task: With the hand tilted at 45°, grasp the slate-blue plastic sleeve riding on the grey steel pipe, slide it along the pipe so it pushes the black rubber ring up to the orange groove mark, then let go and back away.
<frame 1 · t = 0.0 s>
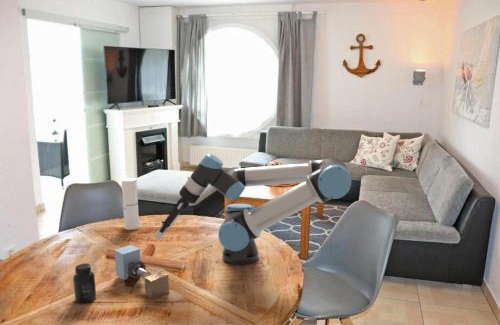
hand: (162, 231, 165), 15 cm above the table, tool tilted 35°, fingers open, 13 cm apart
sleeve: (127, 261, 159), point 6 cm above the table, slide at 0.0 cm
cylindrical container: (131, 227, 214), on the table
supplement bottle: (85, 299, 144), on the table
ring: (136, 269, 155), point 5 cm above the table, slide at 0.0 cm
pipe rig: (139, 283, 155), on the table
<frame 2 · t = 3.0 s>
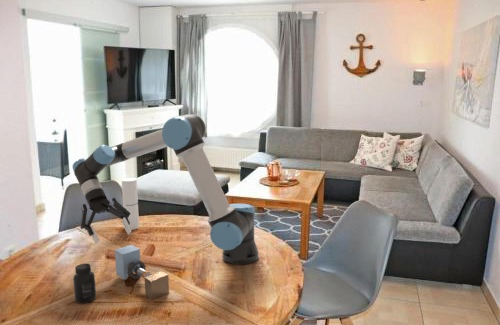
hand: (114, 237, 164), 13 cm above the table, tool tilted 45°, fingers open, 13 cm apart
nothing on the table moved.
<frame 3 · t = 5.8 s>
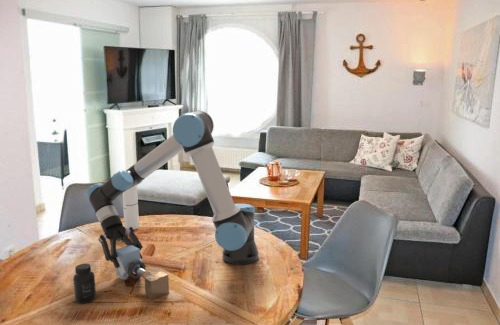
hand: (133, 270, 157), 3 cm above the table, tool tilted 45°, fingers closed on sleeve, 7 cm apart
sleeve: (127, 261, 159), point 6 cm above the table, slide at 0.0 cm, touching gripper
everything else where it was.
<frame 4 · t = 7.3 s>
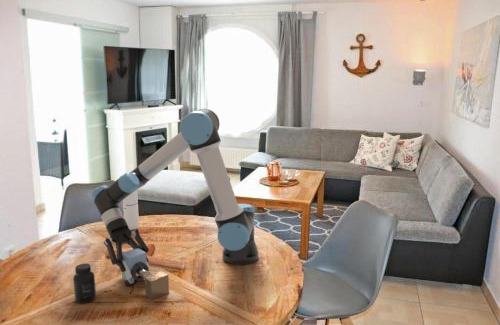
hand: (139, 274, 154), 3 cm above the table, tool tilted 45°, fingers closed on sleeve, 7 cm apart
sleeve: (134, 265, 156), point 6 cm above the table, slide at 4.5 cm, touching gripper
ring: (139, 271, 153), point 5 cm above the table, slide at 2.4 cm
everything else where it was.
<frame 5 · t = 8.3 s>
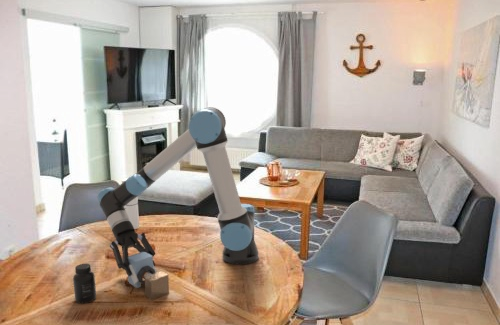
hand: (146, 278, 151), 3 cm above the table, tool tilted 45°, fingers closed on sleeve, 7 cm apart
sleeve: (140, 269, 153), point 6 cm above the table, slide at 9.0 cm, touching gripper, ring
ring: (146, 275, 150), point 5 cm above the table, slide at 6.9 cm, touching sleeve
everything else where it was.
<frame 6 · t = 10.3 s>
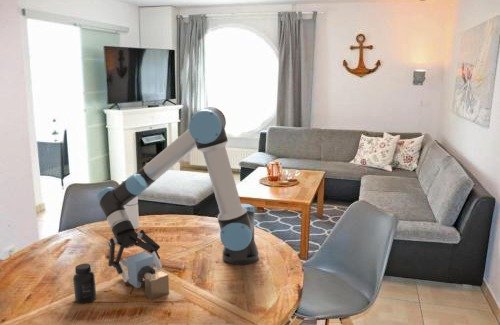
hand: (144, 274, 151), 5 cm above the table, tool tilted 45°, fingers open, 13 cm apart
sleeve: (140, 269, 153), point 6 cm above the table, slide at 9.1 cm
ring: (146, 275, 150), point 5 cm above the table, slide at 7.0 cm
everything else where it was.
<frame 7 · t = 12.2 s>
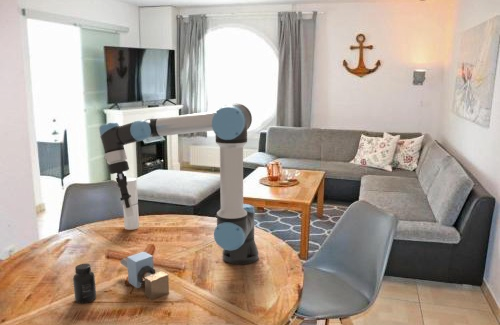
hand: (130, 215, 165), 22 cm above the table, tool tilted 15°, fingers open, 13 cm apart
nothing on the table moved.
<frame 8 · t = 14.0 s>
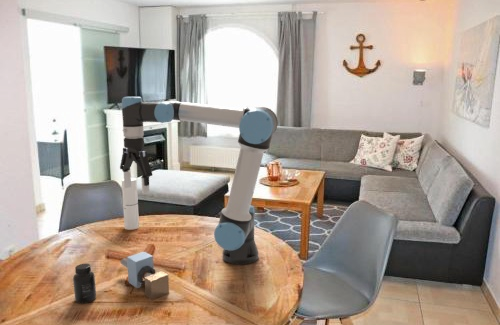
hand: (136, 190, 166), 31 cm above the table, tool pointing down, fingers open, 13 cm apart
nothing on the table moved.
at the end: ring slide at 7.0 cm; the gripper is holding nothing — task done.
